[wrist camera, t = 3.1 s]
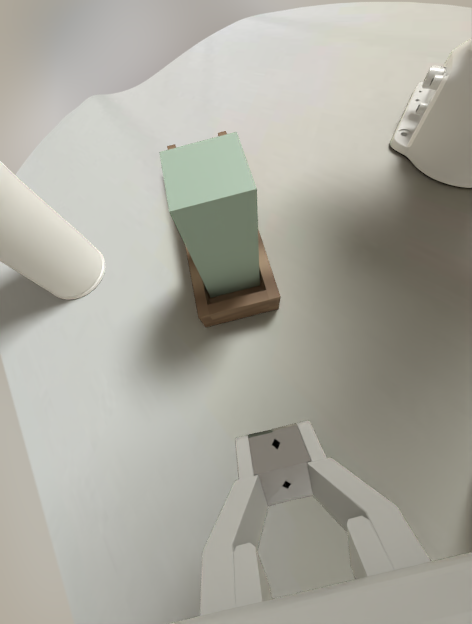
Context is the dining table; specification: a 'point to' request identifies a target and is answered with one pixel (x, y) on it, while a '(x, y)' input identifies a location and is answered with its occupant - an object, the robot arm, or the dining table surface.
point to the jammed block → (215, 211)
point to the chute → (239, 301)
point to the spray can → (44, 243)
